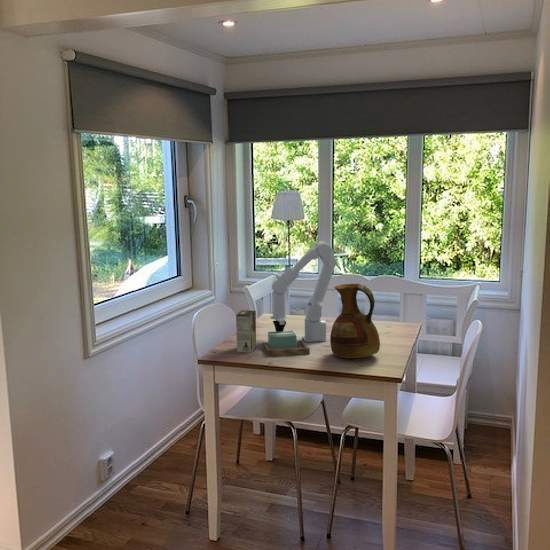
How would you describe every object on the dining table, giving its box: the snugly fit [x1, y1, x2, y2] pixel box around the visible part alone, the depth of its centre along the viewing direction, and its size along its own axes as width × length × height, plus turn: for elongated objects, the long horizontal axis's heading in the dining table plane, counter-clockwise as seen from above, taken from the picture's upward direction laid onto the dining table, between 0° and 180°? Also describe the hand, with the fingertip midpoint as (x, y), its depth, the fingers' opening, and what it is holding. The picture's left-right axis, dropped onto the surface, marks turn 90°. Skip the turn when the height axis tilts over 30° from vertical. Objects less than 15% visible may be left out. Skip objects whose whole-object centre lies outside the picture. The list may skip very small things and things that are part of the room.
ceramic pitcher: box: [329, 283, 381, 359], centre depth 239 cm, size 20×20×30 cm
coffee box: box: [235, 309, 257, 354], centre depth 251 cm, size 9×6×16 cm
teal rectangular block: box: [267, 330, 297, 349], centre depth 259 cm, size 11×9×5 cm
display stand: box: [262, 339, 311, 357], centre depth 250 cm, size 17×14×2 cm
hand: (279, 336), depth 265 cm, fingers closed
